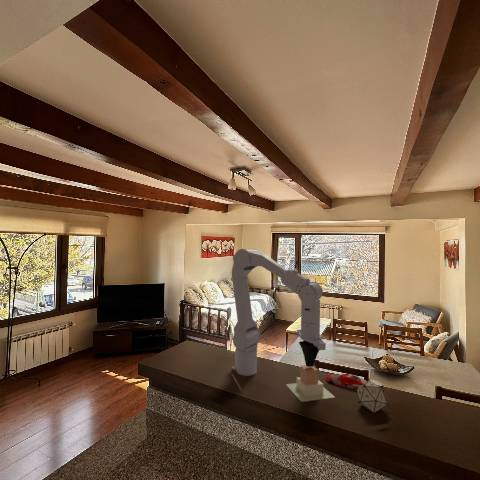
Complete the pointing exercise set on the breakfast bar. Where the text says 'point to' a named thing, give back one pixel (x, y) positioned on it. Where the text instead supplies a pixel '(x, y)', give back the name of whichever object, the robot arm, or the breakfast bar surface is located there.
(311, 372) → the top brick
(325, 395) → the build plate
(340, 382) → the race car
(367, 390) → the game die
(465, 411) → the breakfast bar surface
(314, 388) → the base brick
